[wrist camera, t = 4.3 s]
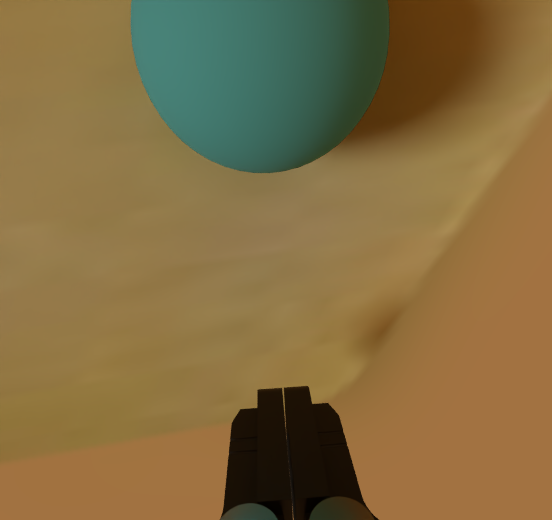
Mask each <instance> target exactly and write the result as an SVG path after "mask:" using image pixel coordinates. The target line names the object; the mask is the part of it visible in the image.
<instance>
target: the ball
mask: <svg viewBox="0 0 552 520" xmlns="http://www.w3.org/2000/svg"><path fill="white" fill-rule="evenodd" d="M131 35H132V46H133V51H134V55H135V60H136V65H137V68H138V71H139V74H140V77H141V80H142V83H143V85H144V87H145V89H146V91H147V93H148V95H149V98H150V100H151V101H152V103H153V105H154V106H155V108H156V110H157V111H158V113H159V114H160V116H161V118H162V119H163V120H164V121H165V123H166V124H167V125H168V126H169V128H170V129H171V130H172V131H173V132H174V133H175V134H176V135H177V136H178V137H179V138H180V139H181V140H182V141H183V142H184V143H185V144H187V145H188V146H189V147H190V148H192V149H193V150H194V151H196V152H197V153H199V154H200V155H202V156H204V157H205V158H207V159H209V160H211V161H213V162H215V163H218V164H220V165H222V166H225V167H228V168H232V169H235V170H239V171H245V172H252V173H273V172H281V171H286V170H290V169H294V168H298V167H300V166H303V165H305V164H308V163H310V162H313V161H314V160H316V159H318V158H320V157H321V156H323V155H325V154H326V153H328V152H329V151H330V150H332V149H333V148H334V147H336V146H337V145H338V144H339V143H340V142H341V141H342V140H343V139H344V138H345V137H346V136H347V135H348V134H350V132H351V131H352V130H353V129H354V127H355V126H356V125H357V124H358V122H359V121H360V120H361V118H362V117H363V115H364V113H365V112H366V110H367V109H368V107H369V105H370V104H371V102H372V99H373V97H374V95H375V93H376V91H377V89H378V86H379V83H380V80H381V77H382V74H383V71H384V67H385V62H386V58H387V53H388V43H389V7H388V0H132V2H131Z"/></svg>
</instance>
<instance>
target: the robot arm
mask: <svg viewBox="0 0 552 520" xmlns="http://www.w3.org/2000/svg"><path fill="white" fill-rule="evenodd" d="M284 399H285V416H284V405H283V394H282V388H274V389H259V390H258V408H252V409H240V411H239V412H238V414H237V416H236V417H235V419H234V420H233V422H232V426H231V437H230V447H229V457H228V467H227V478H226V488H225V499H224V508H223V513H222V516H221V518H220V520H293V517H294V520H378V519H377V518H376V517H375V516H374V515H373V514H372V513H371V512H370V510H369V509H368V508H367V506H366V504H365V503H364V501H363V498H362V495H361V491H360V488H359V485H358V481H357V477H356V474H355V470H354V467H353V464H352V460H351V456H350V453H349V449H348V446H347V442H346V439H345V435H344V433H343V428H342V425H341V421H340V418H339V415H338V414H337V413H336V412H335V410H334V409H333V408H332V407H331V406H330V405H329V404H328V403H322V404H312V401H311V396H310V391H309V387H308V386H301V387H287V388H284ZM285 418H286V428H285ZM286 436H287V439H286ZM288 461H289V462H288ZM289 472H290V473H289ZM292 506H293V512H292Z"/></svg>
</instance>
